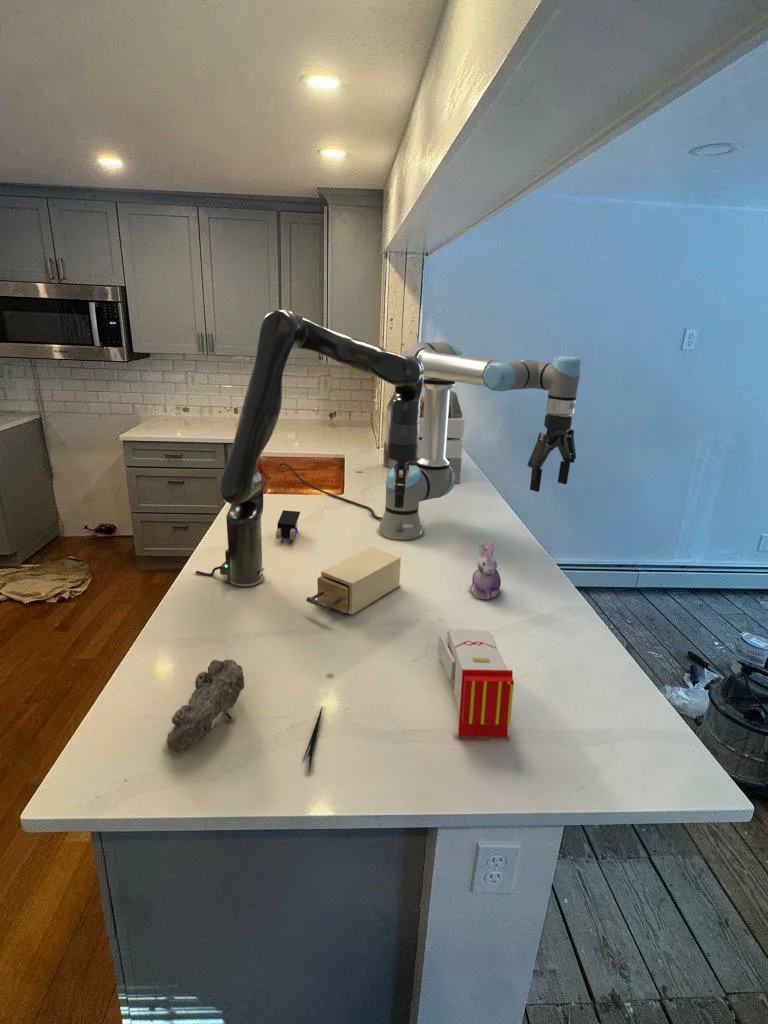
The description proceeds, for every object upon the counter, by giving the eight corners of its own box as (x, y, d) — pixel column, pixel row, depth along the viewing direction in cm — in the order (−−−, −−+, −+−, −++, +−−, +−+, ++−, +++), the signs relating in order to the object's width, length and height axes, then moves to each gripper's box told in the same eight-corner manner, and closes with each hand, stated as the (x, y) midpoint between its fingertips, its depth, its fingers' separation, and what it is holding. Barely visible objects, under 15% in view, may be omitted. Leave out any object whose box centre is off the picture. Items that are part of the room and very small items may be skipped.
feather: (331, 679, 122) (336, 673, 122) (307, 777, 96) (313, 769, 95) (324, 675, 122) (329, 669, 121) (298, 772, 95) (304, 764, 95)
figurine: (482, 603, 154) (488, 553, 149) (461, 587, 163) (466, 539, 158) (510, 597, 158) (516, 547, 153) (487, 581, 167) (493, 534, 162)
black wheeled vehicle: (295, 549, 186) (301, 528, 200) (295, 529, 183) (300, 509, 196) (275, 549, 186) (282, 527, 199) (274, 528, 183) (281, 508, 196)
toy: (488, 613, 130) (523, 677, 101) (484, 667, 133) (517, 744, 104) (435, 612, 130) (455, 676, 101) (432, 666, 133) (451, 743, 103)
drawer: (330, 622, 140) (330, 597, 138) (302, 609, 146) (302, 585, 143) (390, 586, 160) (392, 563, 157) (364, 576, 165) (364, 554, 163)
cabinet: (351, 614, 146) (352, 583, 143) (320, 601, 152) (320, 571, 149) (399, 586, 162) (400, 557, 159) (369, 574, 168) (370, 547, 165)
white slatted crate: (382, 463, 289) (386, 382, 275) (445, 464, 293) (451, 384, 279) (390, 482, 257) (394, 392, 243) (460, 483, 261) (468, 394, 247)
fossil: (192, 660, 117) (244, 628, 112) (224, 691, 120) (276, 661, 115) (142, 746, 98) (202, 712, 93) (182, 779, 101) (242, 748, 96)
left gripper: (389, 432, 147) (386, 492, 152) (386, 445, 133) (383, 510, 139) (418, 434, 146) (414, 494, 152) (418, 447, 133) (413, 512, 139)
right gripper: (543, 420, 148) (533, 497, 155) (595, 412, 163) (583, 483, 170) (520, 415, 153) (511, 490, 160) (573, 408, 168) (562, 477, 176)
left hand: (399, 501), depth 145 cm, fingers open, 8 cm apart
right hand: (548, 486), depth 165 cm, fingers open, 13 cm apart
